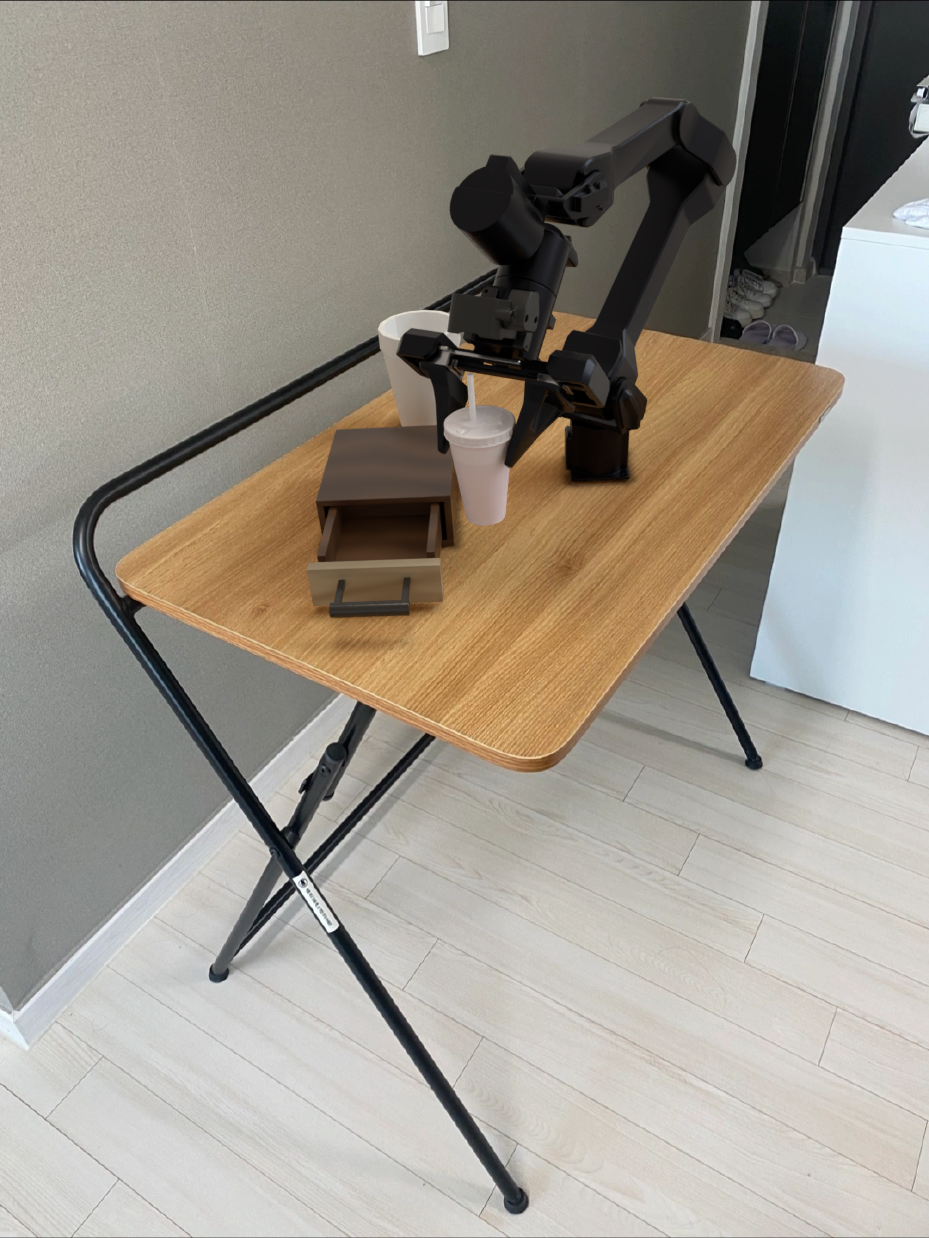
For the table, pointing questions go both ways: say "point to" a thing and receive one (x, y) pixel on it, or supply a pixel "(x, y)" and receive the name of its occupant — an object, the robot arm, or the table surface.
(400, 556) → the drawer
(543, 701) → the table surface
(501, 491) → the smoothie
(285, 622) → the table surface
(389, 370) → the foam cup
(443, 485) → the cabinet
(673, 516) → the table surface
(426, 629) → the table surface
